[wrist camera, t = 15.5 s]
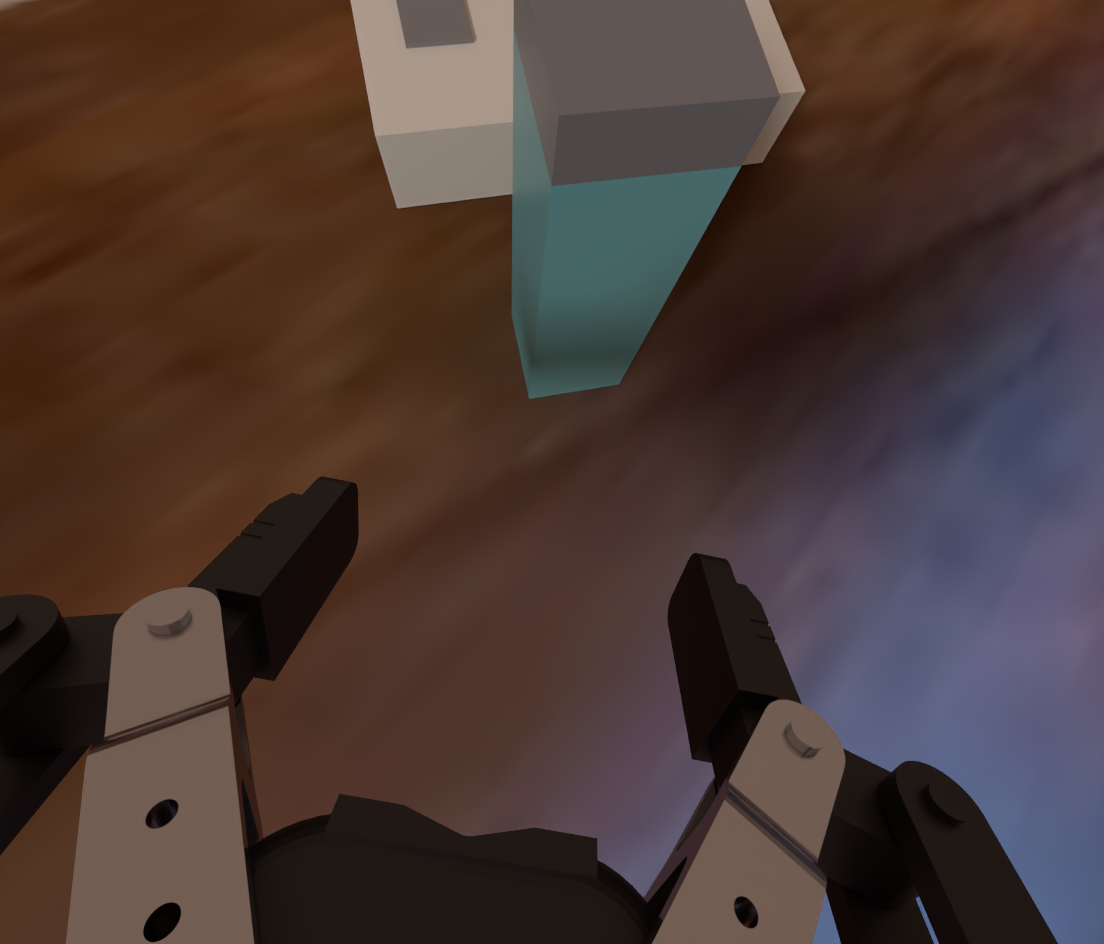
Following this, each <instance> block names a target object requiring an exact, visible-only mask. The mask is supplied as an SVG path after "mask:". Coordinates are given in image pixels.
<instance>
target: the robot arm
mask: <svg viewBox="0 0 1104 944" xmlns="http://www.w3.org/2000/svg"><path fill="white" fill-rule="evenodd" d="M358 534H359V530H358V489H357V485H356V484H355V483H353V482H348V481H343V480H338V479H333V478H328V477H323V476H322V477H319V478H318V479H317V480H316V481H315V482H314V483H313V484H312V485H311V486H310V487H309V488H308V489H307V490H306V491H305V492H304V494H303V495H300V494H295V493H291V494H289V495H287V496H285V497H283V498H281V499H279V500H277V501H275V502H273V503H271V504H269V505H268V506H267V507H266V508H265V509H264V510H263V511H262V512H261V513H260V514H259V515H258V516H257V517H256V518H255V519H254V522H253V523H250V524H249V525H248V526H247V527H246V528H245V529H244V530H243V531H242V532H241V535H240V536H237V537H236V538H235V539H234V540H233V541H232V542H231V543H230V544H229V545H228V546H227V547H226V548H225V549H224V550H223V551H222V552H221V553H220V554H219V555H218V556H217V557H216V558H215V559H214V560H213V561H212V562H211V563H210V564H209V565H208V566H207V567H206V568H205V569H204V570H203V571H202V572H201V573H200V574H199V575H198V576H197V577H196V578H195V579H194V580H193V581H192V582H191V583H190V584H189V585H188V586H187V587H181V588H174V589H168V590H165V591H161V592H158V593H155V594H153V595H150V596H148V597H146V598H144V599H142V600H141V601H139V602H137V603H136V604H134V605H133V606H132V607H130V608H129V609H128V610H127V611H126V612H125V613H120V614H106V615H92V616H77V617H62V616H61V614H60V612H59V610H58V608H57V606H56V604H55V603H54V602H53V601H52V600H50V599H48V598H46V597H43V596H39V595H29V594H25V595H12V596H6V597H1V598H0V855H1V854H2V852H3V851H4V850H5V849H6V848H7V846H8V845H9V844H10V843H11V842H12V840H13V839H14V838H15V837H16V835H17V834H18V833H19V832H20V831H21V829H22V828H23V827H24V826H25V824H26V823H27V822H28V821H29V820H30V818H31V817H32V816H33V815H34V813H35V812H36V811H37V810H38V809H39V807H40V806H41V805H42V804H43V802H44V801H45V800H46V799H47V798H48V796H49V795H50V794H51V793H52V792H53V790H54V789H55V788H56V787H57V785H58V784H59V783H60V782H61V781H62V779H63V778H64V777H65V776H66V774H67V773H68V772H69V771H70V770H71V768H72V767H73V766H74V765H75V763H76V762H77V761H78V760H79V759H80V757H81V756H82V755H83V754H84V752H85V751H86V750H87V749H88V748H89V746H90V745H92V747H91V748H90V750H89V753H88V756H87V760H86V766H85V774H84V783H83V793H82V802H81V811H80V820H79V829H78V839H77V848H76V857H75V866H74V875H73V884H72V894H71V903H70V912H69V921H68V930H67V940H66V944H812V941H813V937H814V934H815V930H816V926H817V922H818V918H819V915H820V911H821V907H822V903H823V899H824V895H825V891H826V893H827V896H828V900H829V903H830V907H831V910H832V914H833V917H834V920H835V924H836V927H837V931H838V934H839V938H840V941H841V944H934V942H933V940H932V938H931V935H930V933H929V930H928V928H927V926H926V923H925V921H924V918H923V916H922V913H921V911H920V909H919V906H918V904H917V901H916V899H915V898H917V897H920V899H921V901H922V904H923V906H924V909H925V911H926V913H927V916H928V918H929V920H930V923H931V925H932V928H933V930H934V932H935V935H936V937H937V939H938V942H939V944H1058V943H1057V941H1056V939H1055V938H1054V936H1053V934H1052V932H1051V931H1050V929H1049V927H1048V926H1047V924H1046V922H1045V920H1044V919H1043V917H1042V915H1041V913H1040V912H1039V910H1038V908H1037V907H1036V905H1035V903H1034V901H1033V900H1032V898H1031V896H1030V894H1029V893H1028V891H1027V889H1026V888H1025V886H1024V884H1023V882H1022V881H1021V879H1020V877H1019V875H1018V874H1017V872H1016V870H1015V869H1014V867H1013V865H1012V863H1011V862H1010V860H1009V858H1008V856H1007V855H1006V853H1005V851H1004V850H1003V848H1002V846H1001V844H1000V843H999V841H998V839H997V837H996V836H995V834H994V832H993V831H992V829H991V827H990V825H989V824H988V822H987V820H986V818H985V817H984V815H983V813H982V812H981V810H980V809H979V807H978V806H977V805H976V803H975V802H974V801H973V799H972V798H971V797H970V796H969V795H968V794H967V793H966V792H965V791H964V790H963V789H962V788H961V787H960V786H959V785H958V784H957V783H956V782H955V781H953V780H952V779H951V778H950V777H948V776H947V775H945V774H944V773H943V772H941V771H939V770H938V769H936V768H934V767H932V766H930V765H927V764H925V763H922V762H917V761H906V762H903V763H902V764H900V765H899V766H898V767H897V768H896V769H895V770H894V771H892V772H890V771H887V770H885V769H883V768H881V767H879V766H877V765H875V764H873V763H871V762H869V761H867V760H865V759H863V758H861V757H859V756H857V755H855V754H853V753H851V752H849V751H847V750H845V749H843V747H842V745H841V742H840V741H839V739H838V737H837V735H836V734H835V732H834V731H833V730H832V728H831V727H830V726H829V725H828V724H827V723H826V722H825V721H824V720H823V719H822V718H821V717H820V716H819V715H818V714H816V713H815V712H814V711H812V710H811V709H809V708H808V707H806V706H804V705H802V703H801V701H800V698H799V696H798V694H797V691H796V689H795V686H794V684H793V681H792V679H791V676H790V674H789V672H788V669H787V667H786V664H785V662H784V659H783V657H782V654H781V652H780V649H779V647H778V645H777V643H775V637H774V635H773V632H772V630H771V627H770V626H768V623H769V622H768V620H767V618H766V615H765V613H764V610H763V608H762V605H761V603H760V602H759V601H758V600H757V598H756V597H755V596H754V595H753V594H752V592H751V591H750V590H749V589H748V588H747V586H746V585H743V584H738V583H736V580H735V577H734V575H733V572H732V569H731V566H730V564H729V562H728V561H727V560H726V559H723V558H718V557H713V556H708V555H703V554H698V553H694V554H692V555H691V557H690V558H689V560H688V562H687V565H686V567H685V569H684V571H683V573H682V575H681V577H680V579H679V582H678V584H677V586H676V588H675V590H674V592H673V594H672V597H671V599H670V603H669V608H668V626H669V632H670V637H671V643H672V649H673V654H674V660H675V665H676V671H677V677H678V682H679V688H680V693H681V699H682V705H683V710H684V716H685V722H686V727H687V733H688V738H689V744H690V750H691V755H692V759H694V760H699V761H705V762H710V763H712V765H713V770H714V775H715V777H714V778H713V780H712V781H711V783H710V784H709V786H708V788H707V789H706V791H705V793H704V795H703V797H702V799H701V800H700V802H699V804H698V806H697V808H696V810H695V811H694V813H693V815H692V817H691V819H690V820H689V822H688V824H687V826H686V828H685V830H684V831H683V833H682V835H681V837H680V839H679V841H678V842H677V844H676V846H675V848H674V850H673V851H672V853H671V855H670V857H669V859H668V860H667V862H666V864H665V865H664V867H663V868H662V870H661V872H660V873H659V875H658V876H657V878H656V879H655V881H654V882H653V884H652V885H651V887H650V889H649V890H648V892H647V894H646V895H645V897H644V898H643V897H642V896H641V895H640V894H639V893H638V891H637V890H636V889H635V888H634V887H633V886H632V885H631V884H630V883H629V882H628V881H626V880H625V879H624V878H623V877H622V876H621V875H620V874H618V873H617V872H616V871H614V870H613V869H611V868H610V867H608V866H607V865H606V864H604V863H602V862H600V861H598V860H597V838H591V837H585V836H580V835H574V834H568V833H562V832H557V831H551V830H545V829H539V828H530V829H522V830H515V831H508V832H501V833H494V834H486V835H479V836H463V835H461V834H459V833H457V832H455V831H453V830H451V829H449V828H447V827H445V826H443V825H441V824H439V823H437V822H435V821H434V820H432V819H430V818H428V817H426V816H424V815H422V814H420V813H418V812H416V811H414V810H412V809H411V808H409V807H407V806H405V805H401V804H395V803H389V802H383V801H378V800H372V799H366V798H360V797H354V796H349V795H343V794H339V796H338V799H337V801H336V803H335V806H334V808H333V811H332V813H331V814H329V815H322V816H317V817H314V818H310V819H306V820H302V821H300V822H297V823H295V824H292V825H290V826H287V827H284V828H282V829H280V830H278V831H277V832H275V833H273V834H271V835H269V836H267V837H265V838H263V832H262V826H261V820H260V814H259V809H258V804H257V799H256V793H255V786H254V779H253V772H252V764H251V757H250V750H249V742H248V735H247V727H246V720H245V712H244V705H243V699H242V693H243V692H244V691H245V689H246V688H247V686H248V685H249V683H250V682H251V680H252V679H253V677H255V678H261V679H266V680H272V681H275V679H276V677H277V676H278V674H279V673H280V671H281V670H282V668H283V666H284V665H285V663H286V662H287V660H288V659H289V657H290V655H291V654H292V652H293V651H294V649H295V648H296V646H297V644H298V643H299V641H300V640H301V638H302V637H303V635H304V633H305V632H306V630H307V629H308V627H309V626H310V624H311V622H312V621H313V619H314V618H315V616H316V615H317V613H318V611H319V610H320V608H321V607H322V605H323V604H324V602H325V600H326V599H327V597H328V596H329V594H330V593H331V591H332V589H333V588H334V586H335V585H336V583H337V581H338V580H339V578H340V577H341V575H342V574H343V572H344V570H345V569H346V567H347V566H348V564H349V563H350V561H351V559H352V557H353V555H354V553H355V550H356V546H357V542H358Z"/></svg>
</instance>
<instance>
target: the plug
mask: <svg viewBox="0 0 1104 944" xmlns="http://www.w3.org/2000/svg"><path fill="white" fill-rule="evenodd" d="M779 98H780V94H779V91H778V89H777V86H776V83H775V81H774V78H773V75H772V72H771V70H770V67H769V64H768V62H767V59H766V56H765V53H764V51H763V48H762V45H761V43H760V40H759V37H758V34H757V32H756V29H755V26H754V24H753V21H752V18H751V15H750V13H749V10H748V7H747V5H746V2H745V0H514V33H513V195H512V318H513V323H514V328H515V333H516V338H517V343H518V348H519V352H520V357H521V362H522V367H523V372H524V377H525V382H526V386H527V391H528V396H529V399H532V398H538V397H544V396H550V395H556V394H563V393H569V392H575V391H581V390H587V389H593V388H600V387H606V386H612V385H618V384H620V382H621V380H622V378H623V377H624V375H625V373H626V371H627V370H628V368H629V366H630V364H631V362H632V361H633V359H634V357H635V355H636V353H637V352H638V350H639V348H640V346H641V345H642V343H643V341H644V339H645V337H646V336H647V334H648V332H649V330H650V328H651V327H652V325H653V323H654V321H655V320H656V318H657V316H658V314H659V312H660V311H661V309H662V307H663V305H664V303H665V302H666V300H667V298H668V296H669V295H670V293H671V291H672V289H673V287H674V286H675V284H676V282H677V280H678V278H679V277H680V275H681V273H682V271H683V270H684V268H685V266H686V264H687V262H688V261H689V259H690V257H691V255H692V253H693V252H694V250H695V248H696V246H697V245H698V243H699V241H700V239H701V237H702V236H703V234H704V232H705V230H706V228H707V227H708V225H709V223H710V221H711V220H712V218H713V216H714V214H715V212H716V211H717V209H718V207H719V205H720V203H721V202H722V200H723V198H724V196H725V195H726V193H727V191H728V189H729V187H730V186H731V184H732V182H733V180H734V178H735V177H736V175H737V173H738V171H739V170H740V168H741V166H742V164H743V162H744V161H745V159H746V157H747V155H748V153H749V152H750V150H751V148H752V146H753V144H754V143H755V141H756V139H757V137H758V136H759V134H760V132H761V130H762V128H763V127H764V125H765V123H766V121H767V119H768V118H769V116H770V114H771V112H772V111H773V109H774V107H775V105H776V103H777V102H778V100H779Z"/></svg>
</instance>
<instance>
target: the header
mask: <svg viewBox="0 0 1104 944" xmlns="http://www.w3.org/2000/svg"><path fill="white" fill-rule="evenodd" d="M745 2H746V5H747V7H748V10H749V13H750V15H751V18H752V21H753V24H754V26H755V29H756V32H757V34H758V37H759V40H760V43H761V45H762V48H763V51H764V53H765V56H766V59H767V62H768V64H769V67H770V70H771V72H772V75H773V78H774V81H775V83H776V86H777V89H778V91H779V94H780V98H779V100H778V102H777V103H776V105H775V107H774V109H773V111H772V112H771V114H770V116H769V118H768V119H767V121H766V123H765V125H764V127H763V128H762V130H761V132H760V134H759V136H758V137H757V139H756V141H755V143H754V144H753V146H752V148H751V150H750V152H749V153H748V155H747V157H746V159H745V161H744V162H743V164H742V165H748V164H756V163H762V162H763V160H764V159H765V157H766V155H767V154H768V152H769V150H770V149H771V147H772V145H773V144H774V142H775V140H776V139H777V137H778V135H779V134H780V132H781V131H782V129H783V127H784V126H785V124H786V122H787V121H788V119H789V117H790V116H791V114H792V112H793V111H794V109H795V107H796V106H797V104H798V102H799V101H800V99H801V97H802V96H803V94H804V92H805V89H804V86H803V84H802V81H801V79H800V76H799V74H798V72H797V69H796V67H795V64H794V62H793V59H792V57H791V54H790V52H789V50H788V47H787V45H786V42H785V40H784V37H783V35H782V32H781V30H780V27H779V25H778V23H777V20H776V18H775V15H774V13H773V10H772V8H771V5H770V3H769V1H768V0H745ZM351 6H352V11H353V17H354V22H355V28H356V33H357V39H358V44H359V49H360V55H361V60H362V66H363V71H364V77H365V82H366V88H367V93H368V99H369V104H370V110H371V115H372V121H373V126H374V132H375V137H376V140H377V143H378V147H379V150H380V153H381V156H382V160H383V163H384V166H385V170H386V173H387V176H388V179H389V183H390V186H391V189H392V193H393V196H394V199H395V202H396V206H397V208H405V207H413V206H421V205H429V204H437V203H445V202H453V201H461V200H469V199H477V198H485V197H493V196H501V195H509V194H513V33H514V0H351Z"/></svg>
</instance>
